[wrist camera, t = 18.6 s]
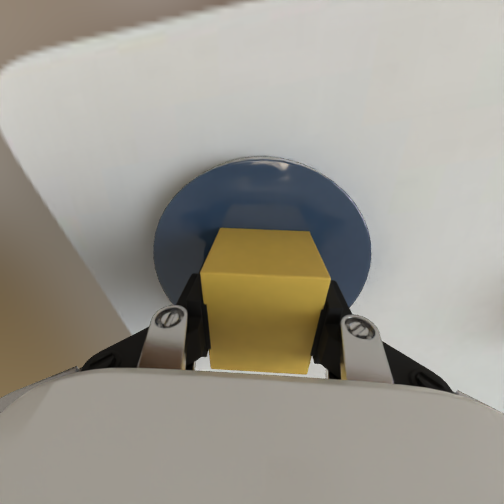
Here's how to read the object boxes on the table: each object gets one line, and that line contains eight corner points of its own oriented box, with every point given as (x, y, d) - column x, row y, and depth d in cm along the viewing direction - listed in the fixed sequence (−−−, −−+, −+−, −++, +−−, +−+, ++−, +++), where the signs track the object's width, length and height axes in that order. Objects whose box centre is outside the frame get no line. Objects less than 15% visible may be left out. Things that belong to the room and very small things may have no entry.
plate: (177, 326, 16) (171, 340, 15) (141, 152, 10) (127, 154, 9) (337, 335, 16) (342, 349, 15) (393, 160, 10) (408, 163, 9)
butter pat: (224, 308, 14) (210, 369, 10) (219, 227, 11) (199, 272, 7) (295, 311, 13) (307, 375, 10) (309, 230, 11) (331, 278, 7)
